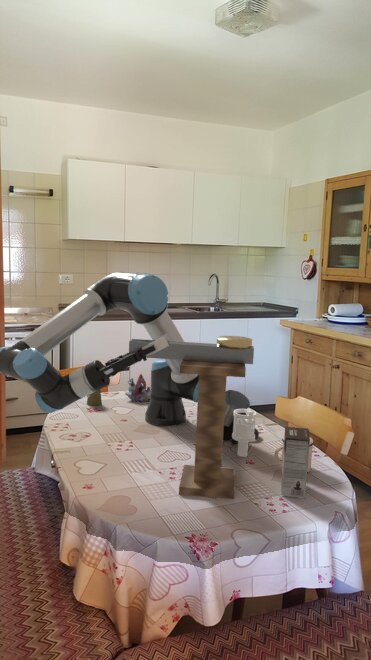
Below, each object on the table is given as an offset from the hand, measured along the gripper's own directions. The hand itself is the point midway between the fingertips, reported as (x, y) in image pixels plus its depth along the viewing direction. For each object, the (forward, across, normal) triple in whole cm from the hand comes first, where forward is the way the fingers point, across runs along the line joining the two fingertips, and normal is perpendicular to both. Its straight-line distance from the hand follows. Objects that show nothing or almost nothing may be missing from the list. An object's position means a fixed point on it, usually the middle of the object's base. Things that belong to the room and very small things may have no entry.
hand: (167, 339), depth 131 cm
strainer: (0, -23, -45) cm, 50 cm away
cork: (-51, -65, -16) cm, 84 cm away
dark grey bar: (+3, 0, -7) cm, 8 cm away
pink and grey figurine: (-37, -75, -24) cm, 87 cm away
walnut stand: (-9, 0, -40) cm, 41 cm away
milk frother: (-3, -38, -42) cm, 57 cm away
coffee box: (+11, -1, -51) cm, 53 cm away
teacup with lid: (+12, -15, -52) cm, 55 cm away
